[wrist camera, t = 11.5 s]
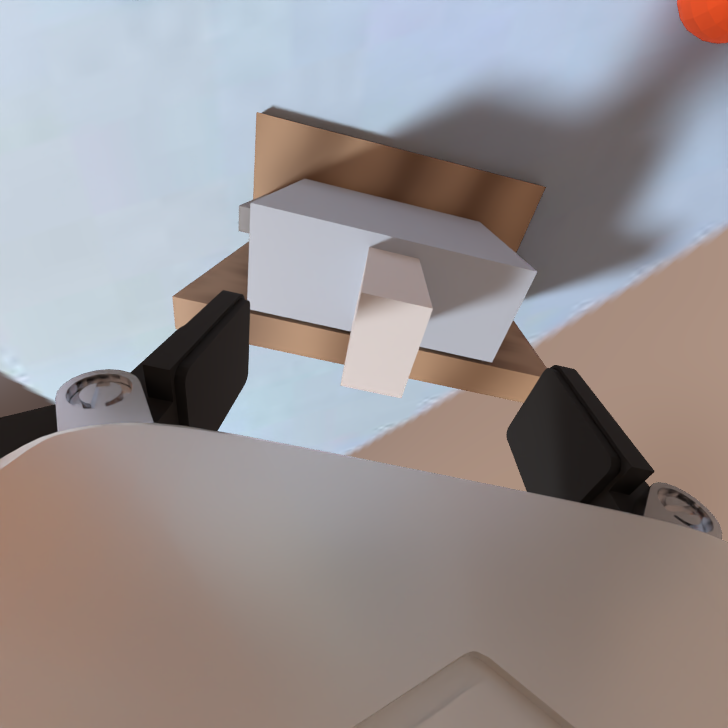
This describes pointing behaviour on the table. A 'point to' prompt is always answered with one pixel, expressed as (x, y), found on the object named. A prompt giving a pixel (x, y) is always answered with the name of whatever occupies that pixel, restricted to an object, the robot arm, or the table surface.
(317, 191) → the white box with handle
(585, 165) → the table surface
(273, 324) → the wooden stand
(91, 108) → the table surface
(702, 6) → the clementine
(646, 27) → the table surface
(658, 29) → the table surface
